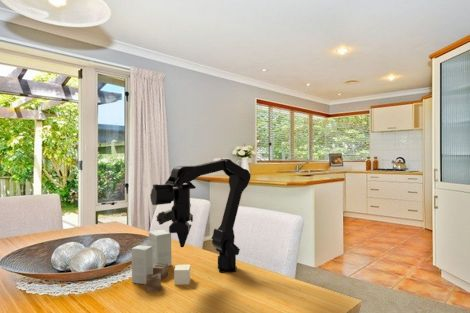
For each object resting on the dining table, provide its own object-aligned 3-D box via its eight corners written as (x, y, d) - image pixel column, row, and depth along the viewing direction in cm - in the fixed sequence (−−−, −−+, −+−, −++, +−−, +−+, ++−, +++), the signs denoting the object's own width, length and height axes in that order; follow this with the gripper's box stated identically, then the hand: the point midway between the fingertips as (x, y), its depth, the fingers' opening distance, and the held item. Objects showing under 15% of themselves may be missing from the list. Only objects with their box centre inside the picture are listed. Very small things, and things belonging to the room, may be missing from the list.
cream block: (190, 278, 108) (190, 264, 108) (189, 284, 103) (188, 269, 103) (176, 278, 107) (176, 264, 107) (174, 284, 102) (174, 270, 102)
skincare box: (153, 280, 106) (153, 246, 106) (146, 285, 102) (145, 249, 102) (139, 277, 108) (138, 244, 108) (131, 282, 104) (130, 248, 104)
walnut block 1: (167, 274, 111) (167, 263, 111) (162, 279, 107) (162, 267, 107) (156, 273, 112) (156, 262, 112) (150, 278, 108) (150, 267, 108)
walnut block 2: (160, 285, 102) (160, 272, 102) (160, 290, 98) (160, 278, 98) (147, 286, 101) (146, 274, 101) (146, 292, 97) (146, 279, 97)
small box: (171, 265, 120) (171, 232, 120) (156, 269, 116) (156, 235, 116) (162, 260, 127) (162, 229, 127) (148, 263, 123) (148, 231, 123)
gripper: (163, 198, 114) (163, 239, 114) (152, 207, 95) (153, 256, 95) (192, 198, 114) (193, 239, 115) (188, 206, 96) (188, 255, 96)
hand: (182, 246), depth 105 cm, fingers closed
